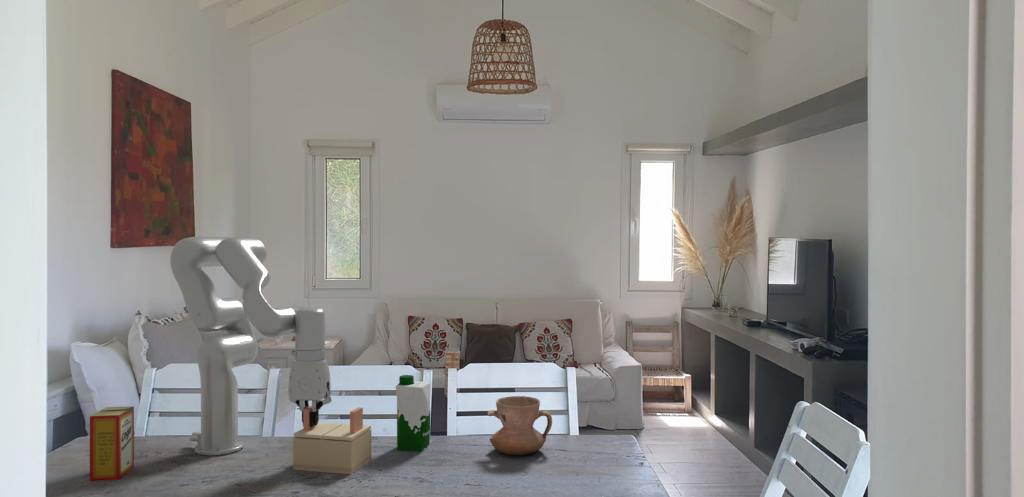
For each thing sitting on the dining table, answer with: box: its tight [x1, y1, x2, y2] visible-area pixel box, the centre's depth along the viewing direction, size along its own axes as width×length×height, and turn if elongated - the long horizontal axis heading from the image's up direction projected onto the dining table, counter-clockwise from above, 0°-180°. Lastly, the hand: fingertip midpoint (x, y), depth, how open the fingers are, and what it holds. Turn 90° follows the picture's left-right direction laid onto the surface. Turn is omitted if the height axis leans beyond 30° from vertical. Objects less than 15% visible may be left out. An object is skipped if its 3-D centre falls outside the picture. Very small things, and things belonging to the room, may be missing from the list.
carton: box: [292, 428, 373, 475], centre depth 179 cm, size 16×12×8 cm
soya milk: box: [395, 374, 432, 452], centre depth 195 cm, size 9×9×20 cm
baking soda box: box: [89, 406, 135, 482], centre depth 171 cm, size 10×6×16 cm
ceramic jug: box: [487, 395, 553, 456], centre depth 191 cm, size 18×14×14 cm
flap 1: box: [293, 404, 344, 439], centre depth 180 cm, size 8×12×6 cm
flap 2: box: [323, 407, 372, 441], centre depth 178 cm, size 8×12×6 cm
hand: (310, 425), depth 181 cm, fingers closed
